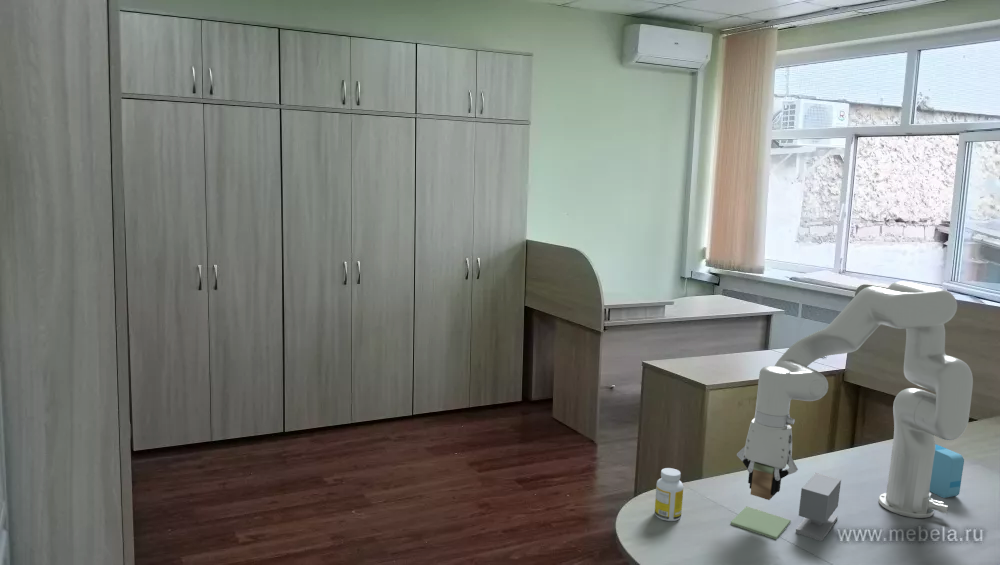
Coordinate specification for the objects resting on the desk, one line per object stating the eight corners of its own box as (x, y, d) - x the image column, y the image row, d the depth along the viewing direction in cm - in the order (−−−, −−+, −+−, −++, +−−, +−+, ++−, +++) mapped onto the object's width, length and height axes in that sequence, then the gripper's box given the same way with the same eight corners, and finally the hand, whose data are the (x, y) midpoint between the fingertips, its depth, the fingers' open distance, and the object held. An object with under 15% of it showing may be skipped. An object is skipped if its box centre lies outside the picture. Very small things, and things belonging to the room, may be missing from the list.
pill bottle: (682, 512, 184) (685, 468, 182) (679, 524, 178) (683, 479, 176) (656, 507, 186) (659, 464, 184) (652, 519, 180) (655, 474, 178)
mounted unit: (837, 519, 183) (842, 478, 181) (821, 541, 172) (827, 497, 170) (811, 512, 187) (816, 471, 185) (795, 532, 176) (800, 489, 174)
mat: (790, 522, 181) (790, 520, 181) (776, 539, 172) (776, 537, 172) (746, 508, 187) (746, 506, 187) (730, 524, 179) (730, 521, 179)
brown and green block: (775, 494, 179) (778, 463, 178) (769, 500, 175) (772, 468, 174) (756, 488, 182) (760, 457, 180) (750, 494, 178) (753, 463, 177)
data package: (959, 498, 198) (965, 456, 197) (947, 500, 197) (953, 457, 195) (920, 479, 210) (925, 439, 208) (908, 481, 208) (914, 441, 206)
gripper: (812, 423, 173) (803, 496, 176) (742, 406, 183) (734, 475, 186) (803, 431, 167) (794, 506, 170) (731, 413, 178) (723, 484, 180)
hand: (763, 489), depth 178 cm, fingers closed on brown and green block, 4 cm apart
